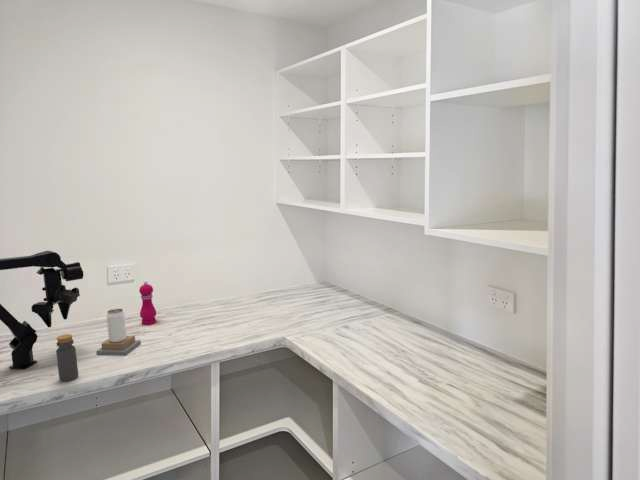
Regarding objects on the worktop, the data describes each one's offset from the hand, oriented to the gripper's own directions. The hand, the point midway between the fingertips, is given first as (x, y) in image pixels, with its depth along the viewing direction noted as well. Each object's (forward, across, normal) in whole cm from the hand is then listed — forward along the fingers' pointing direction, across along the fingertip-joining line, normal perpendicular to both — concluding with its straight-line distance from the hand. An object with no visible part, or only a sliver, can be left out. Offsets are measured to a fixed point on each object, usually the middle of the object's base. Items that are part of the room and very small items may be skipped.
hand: (57, 323), depth 179 cm
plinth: (+13, +7, -20) cm, 25 cm away
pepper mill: (+13, +39, -17) cm, 45 cm away
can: (+9, +7, -20) cm, 23 cm away
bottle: (+13, -19, -16) cm, 28 cm away
